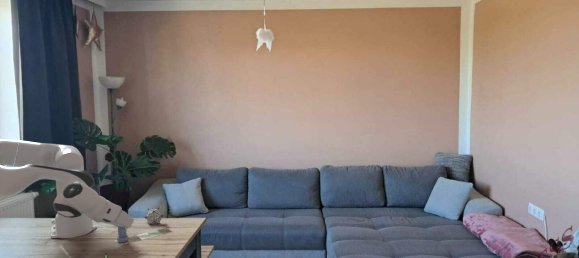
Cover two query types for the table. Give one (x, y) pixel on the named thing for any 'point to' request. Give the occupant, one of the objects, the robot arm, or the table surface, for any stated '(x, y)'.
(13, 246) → the table surface
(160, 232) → the track
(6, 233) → the table surface
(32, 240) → the table surface
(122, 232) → the pawn
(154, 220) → the game die
